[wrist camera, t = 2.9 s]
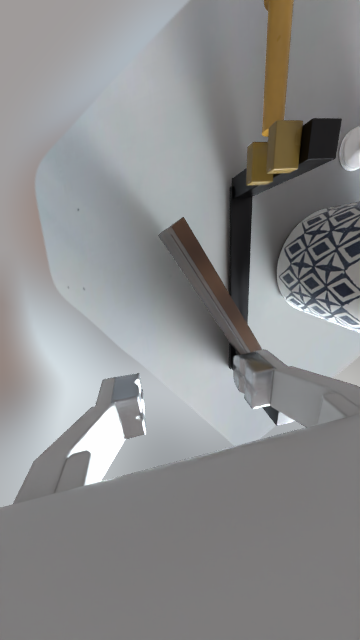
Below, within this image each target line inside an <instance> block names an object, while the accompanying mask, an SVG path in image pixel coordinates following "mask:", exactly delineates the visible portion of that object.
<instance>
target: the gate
mask: <svg viewBox="0 0 360 640" xmlns="http://www.w3.org/2000/svg"><path fill="white" fill-rule="evenodd" d="M158 236H159V238H160V239H161V241H162V242H163V244H164V245H165V247H166V248H167V250H168V251H169V252H170V254H171V255H172V257H173V258H174V260H175V261H176V263H177V264H178V266H179V267H180V269H181V270H182V272H183V273H184V275H185V276H186V278H187V279H188V281H189V282H190V284H191V285H192V287H193V288H194V290H195V291H196V293H197V294H198V296H199V297H200V299H201V300H202V302H203V303H204V305H205V306H206V308H207V309H208V310H209V312H210V313H211V315H212V316H213V318H214V319H215V321H216V322H217V324H218V325H219V327H220V328H221V330H222V331H223V333H224V334H225V336H226V337H227V339H228V340H229V342H230V343H231V345H232V346H233V347H234V348H235V350H236V351H235V352H236V354H237V355H240V354H245V353H250V352H254V351H259V350H262V348H261V346H260V345H259V343H258V341H257V340H256V338H255V336H254V335H253V333H252V331H251V330H250V328H249V326H248V325H247V323H246V321H245V320H244V318H243V316H242V314H241V313H240V311H239V309H238V308H237V306H236V304H235V303H234V301H233V299H232V298H231V296H230V294H229V293H228V291H227V289H226V288H225V286H224V284H223V282H222V281H221V279H220V277H219V276H218V274H217V272H216V271H215V269H214V267H213V266H212V264H211V262H210V261H209V259H208V257H207V256H206V254H205V252H204V251H203V249H202V247H201V245H200V244H199V242H198V240H197V239H196V237H195V235H194V234H193V232H192V230H191V229H190V227H189V225H188V224H187V222H186V220H185V219H184V217H183V218H181V219H180V220H178V221H177V222H175V223H174V224H173V225H171V226H170V227H168V228H167V229H165V230H164V231H163V232H161V233H160V234H159V235H158Z"/></svg>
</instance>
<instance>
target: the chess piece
mask: <svg viewBox="0 0 360 640" xmlns="http://www.w3.org/2000/svg"><path fill="white" fill-rule="evenodd" d="M339 158H340V163H341V165H342V167H343V168H344V169H345V170H348V171H354V170H356V169H358V168H360V126H359V127H356V128H354V129H352V130H351V131H349V132H348V133H347V135H346V136H345V137H344V139H343V141H342V144H341V147H340V152H339Z"/></svg>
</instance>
